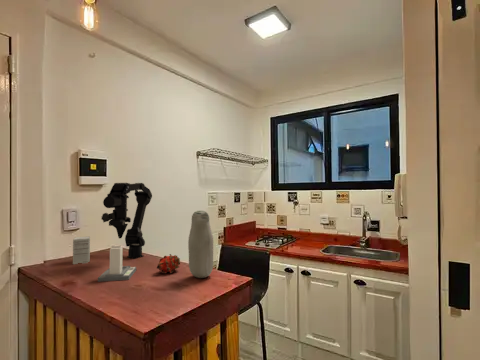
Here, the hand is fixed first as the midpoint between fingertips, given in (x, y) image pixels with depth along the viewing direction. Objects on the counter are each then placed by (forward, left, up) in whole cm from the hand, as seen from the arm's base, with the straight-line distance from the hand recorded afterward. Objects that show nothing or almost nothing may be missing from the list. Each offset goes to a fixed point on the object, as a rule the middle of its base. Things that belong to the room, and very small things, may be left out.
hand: (120, 238), depth 137 cm
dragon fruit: (-2, +32, -13) cm, 35 cm away
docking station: (+12, +16, -13) cm, 24 cm away
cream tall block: (+14, +18, -11) cm, 26 cm away
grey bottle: (-4, +49, -13) cm, 51 cm away
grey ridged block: (+7, -22, -13) cm, 27 cm away
